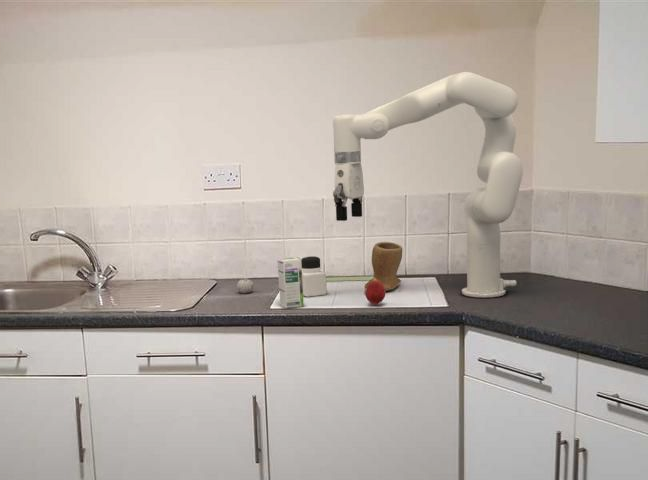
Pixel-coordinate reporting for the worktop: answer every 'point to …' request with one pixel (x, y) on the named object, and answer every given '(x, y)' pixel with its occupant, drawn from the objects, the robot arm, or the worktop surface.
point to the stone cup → (386, 264)
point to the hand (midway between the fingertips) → (349, 218)
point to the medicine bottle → (313, 277)
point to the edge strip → (349, 278)
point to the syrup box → (290, 282)
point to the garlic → (245, 286)
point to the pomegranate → (375, 292)
